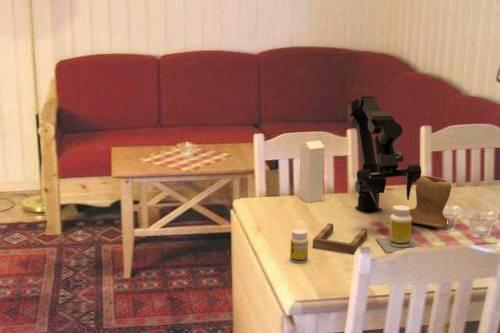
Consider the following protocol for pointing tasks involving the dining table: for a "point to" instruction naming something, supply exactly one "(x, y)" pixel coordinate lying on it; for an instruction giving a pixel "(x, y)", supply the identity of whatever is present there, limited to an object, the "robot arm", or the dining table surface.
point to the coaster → (390, 249)
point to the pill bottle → (400, 226)
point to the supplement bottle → (299, 246)
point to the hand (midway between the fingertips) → (392, 201)
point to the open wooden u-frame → (337, 246)
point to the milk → (311, 170)
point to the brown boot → (431, 201)
